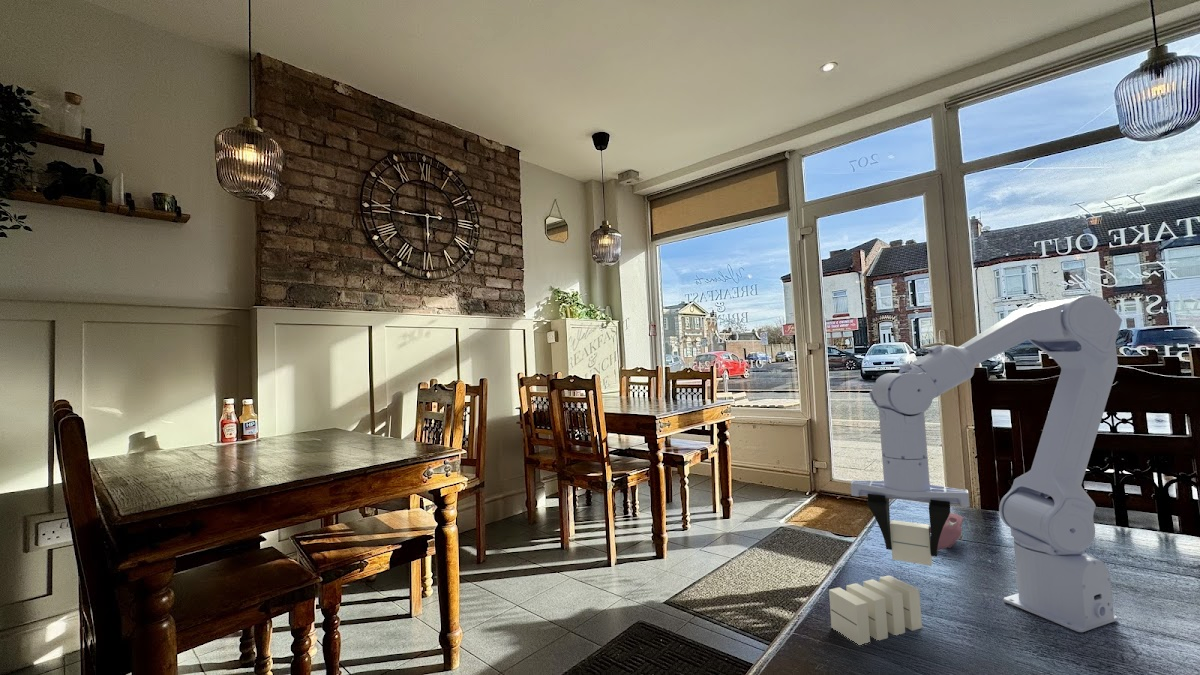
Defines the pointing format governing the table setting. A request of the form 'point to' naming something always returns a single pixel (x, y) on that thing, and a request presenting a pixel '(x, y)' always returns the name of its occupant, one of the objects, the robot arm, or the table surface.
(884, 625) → the domino
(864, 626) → the domino
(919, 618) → the domino
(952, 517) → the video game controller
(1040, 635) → the table surface
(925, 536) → the domino
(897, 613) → the domino
